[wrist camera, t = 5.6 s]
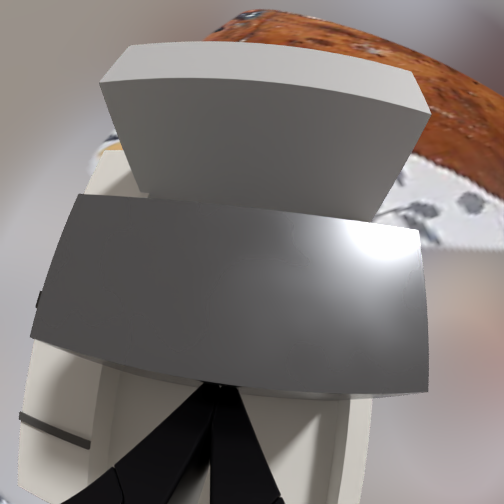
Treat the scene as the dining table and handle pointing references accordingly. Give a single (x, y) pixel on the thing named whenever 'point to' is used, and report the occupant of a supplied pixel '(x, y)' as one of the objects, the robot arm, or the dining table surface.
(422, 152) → the dining table surface
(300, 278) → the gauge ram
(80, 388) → the gauge track
